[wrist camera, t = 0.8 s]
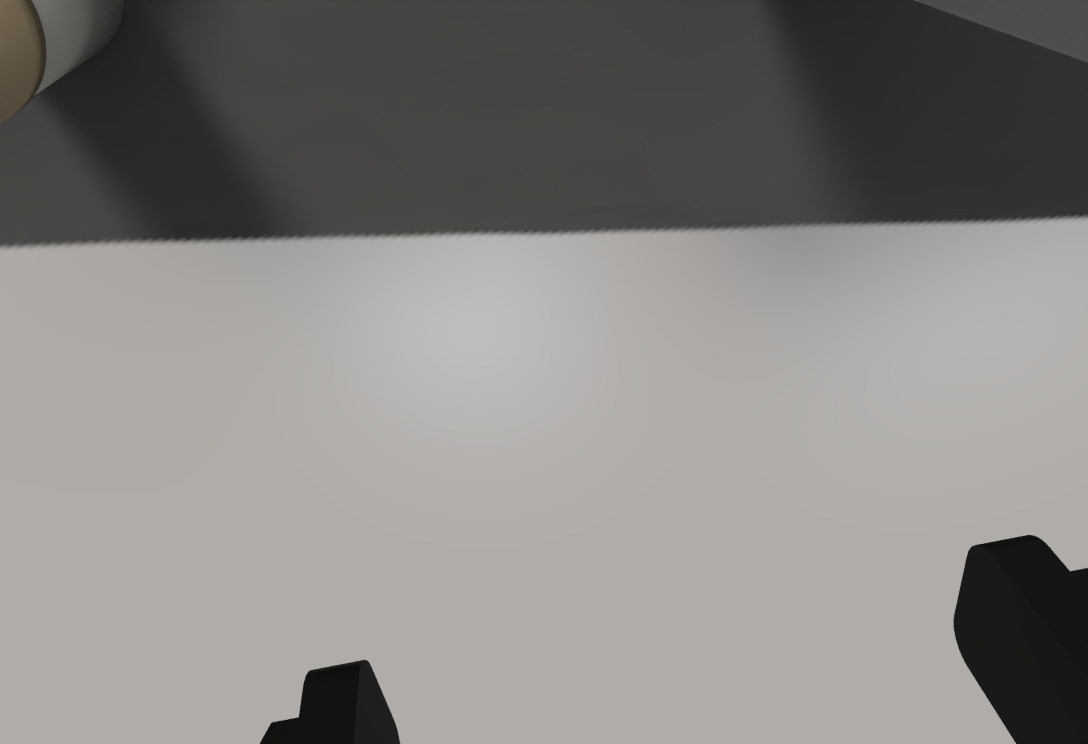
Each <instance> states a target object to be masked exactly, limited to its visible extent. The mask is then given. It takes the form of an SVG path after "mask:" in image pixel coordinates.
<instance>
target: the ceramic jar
mask: <svg viewBox="0 0 1088 744" xmlns="http://www.w3.org/2000/svg"><path fill="white" fill-rule="evenodd" d="M123 7H124V0H0V123H2V122H4V121H6V120H7V119H9V118H10V117H11V116H13V115H14V114H16V113H17V112H19V111H20V110H21V109H22V108H23V107H25V106H26V105H27V104H28V103H29V102H30V100H31V99H32V98H33V97H34V96H35V95H36V94H38V93H39V92H40V91H42V90H43V89H45V88H46V87H48V86H49V85H51V84H52V83H54V82H55V81H57V80H58V79H60V78H61V77H63V76H64V75H66V74H67V73H69V72H70V71H72V70H73V69H74V68H76V67H77V66H79V65H80V64H82V63H83V62H85V61H86V60H88V59H89V58H91V57H92V56H94V55H95V54H97V53H98V52H100V51H101V50H102V49H103V48H105V47H106V46H107V45H108V44H109V43H110V41H111V40H112V39H113V38H114V36H115V34H116V33H117V31H118V29H119V26H120V24H121V20H122V16H123Z"/></svg>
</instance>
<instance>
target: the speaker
mask: <svg viewBox="0 0 1088 744" xmlns="http://www.w3.org/2000/svg"><path fill="white" fill-rule="evenodd" d="M914 1H917V2H920V3H923V4H925V5H928V6H931V7H934V8H936V9H939V10H942V11H945V12H947V13H950V14H953V15H956V16H958V17H961V18H964V19H967V20H969V21H972V22H975V23H978V24H980V25H983V26H986V27H989V28H992V29H994V30H997V31H1000V32H1003V33H1006V34H1008V35H1011V36H1014V37H1017V38H1020V39H1023V40H1025V41H1028V42H1031V43H1034V44H1037V45H1039V46H1042V47H1045V48H1048V49H1051V50H1054V51H1056V52H1059V53H1062V54H1065V55H1068V56H1070V57H1073V58H1076V59H1079V60H1082V61H1084V62H1087V63H1088V0H914Z"/></svg>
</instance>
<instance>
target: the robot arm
mask: <svg viewBox="0 0 1088 744" xmlns="http://www.w3.org/2000/svg"><path fill="white" fill-rule="evenodd" d="M954 631H955V637H956V641H957V644H958V647H959V650H960V652H961V655H962V657H963V659H964V661H965V663H966V665H967V666H968V668H969V670H970V671H971V673H972V674H973V676H974V677H975V679H976V681H977V682H978V684H979V686H980V687H981V689H982V690H983V692H984V693H985V695H986V697H987V698H988V700H989V701H990V703H991V704H992V706H993V708H994V709H995V711H996V712H997V714H998V715H999V717H1000V719H1001V720H1002V722H1003V723H1004V725H1005V727H1006V728H1007V730H1008V731H1009V733H1010V735H1011V736H1012V738H1013V739H1014V741H1015V742H1016V744H1088V568H1085V569H1080V570H1075V571H1069V570H1068V569H1067V567H1066V566H1065V565H1064V564H1063V563H1062V562H1061V560H1060V559H1059V558H1058V557H1057V556H1056V555H1055V553H1054V552H1053V551H1052V550H1051V549H1050V547H1049V546H1048V545H1047V544H1046V543H1045V542H1044V541H1042V540H1041V539H1040V538H1038V537H1036V536H1033V535H1026V536H1021V537H1015V538H1011V539H1005V540H1000V541H995V542H989V543H984V544H979V545H975V546H972V547H971V548H970V550H969V551H968V555H967V559H966V563H965V568H964V573H963V577H962V582H961V586H960V591H959V596H958V600H957V605H956V609H955V614H954ZM260 744H400V742H399V736H398V731H397V728H396V724H395V722H394V719H393V717H392V714H391V712H390V710H389V707H388V705H387V702H386V700H385V698H384V696H383V693H382V691H381V688H380V686H379V684H378V682H377V679H376V677H375V674H374V672H373V670H372V667H371V665H370V663H369V662H368V661H367V660H361V661H356V662H351V663H346V664H340V665H335V666H330V667H325V668H320V669H315V670H310V671H309V672H308V673H307V675H306V677H305V681H304V685H303V692H302V699H301V706H300V713H299V717H298V718H293V719H288V720H283V721H278V722H272V723H271V724H270V726H269V728H268V730H267V732H266V733H265V735H264V737H263V739H262V741H261V742H260Z"/></svg>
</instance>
